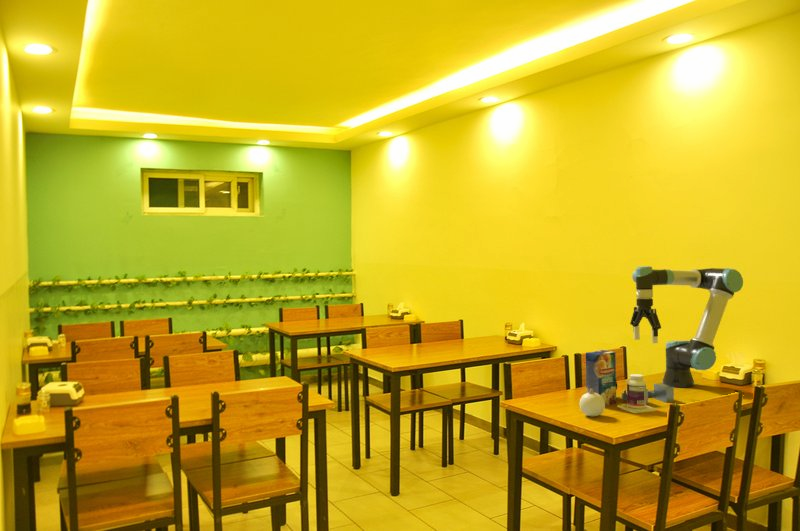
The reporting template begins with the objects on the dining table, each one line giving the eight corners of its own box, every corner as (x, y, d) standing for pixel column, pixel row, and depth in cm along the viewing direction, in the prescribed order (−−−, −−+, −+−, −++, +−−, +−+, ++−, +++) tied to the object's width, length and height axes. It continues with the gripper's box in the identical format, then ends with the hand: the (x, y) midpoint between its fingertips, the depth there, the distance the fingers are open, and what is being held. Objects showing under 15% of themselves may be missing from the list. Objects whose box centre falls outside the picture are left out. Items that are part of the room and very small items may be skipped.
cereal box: (599, 407, 293) (598, 354, 292) (586, 404, 299) (585, 352, 299) (616, 403, 300) (615, 352, 299) (603, 400, 306) (602, 350, 305)
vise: (653, 395, 314) (653, 381, 314) (673, 401, 300) (673, 386, 300) (611, 399, 308) (611, 384, 308) (630, 406, 294) (629, 390, 294)
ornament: (590, 420, 271) (590, 392, 271) (575, 414, 280) (574, 387, 280) (609, 417, 275) (609, 389, 275) (593, 412, 285) (593, 385, 284)
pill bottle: (632, 404, 294) (631, 372, 294) (649, 406, 288) (649, 374, 288) (623, 407, 288) (623, 375, 288) (641, 410, 283) (640, 377, 282)
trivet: (639, 404, 296) (639, 403, 296) (656, 410, 284) (656, 409, 284) (617, 407, 292) (617, 405, 292) (633, 413, 281) (633, 411, 281)
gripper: (622, 296, 324) (623, 338, 325) (654, 300, 300) (655, 345, 301) (635, 296, 327) (636, 337, 327) (668, 299, 303) (669, 344, 303)
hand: (645, 341), depth 314 cm, fingers open, 13 cm apart
